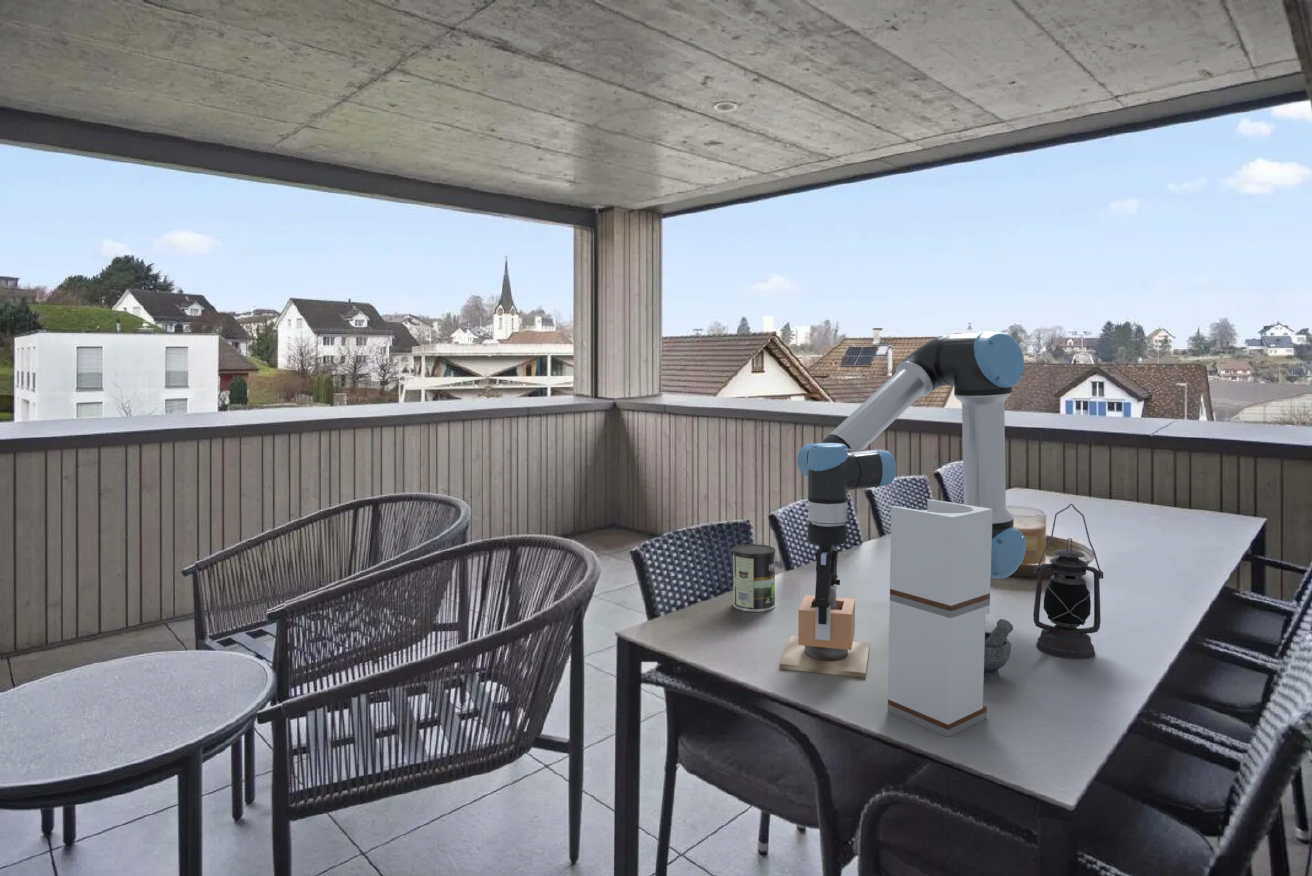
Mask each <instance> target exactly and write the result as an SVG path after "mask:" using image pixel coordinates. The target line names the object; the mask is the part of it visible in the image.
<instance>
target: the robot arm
mask: <svg viewBox="0 0 1312 876" xmlns="http://www.w3.org/2000/svg"><path fill="white" fill-rule="evenodd" d="M1024 368H1025V359H1024V354H1023V351H1022V348H1021V346H1020V345H1019V343H1018V342H1017V341H1016V340H1015V339H1014V337H1013V336H1011V335H1010V334H1008V333H1004V332H998V331H997V332H996V331H983V332H981V331H980V332H966V333H948V334H947V333H946V334H942V335H940V336H937V337H935V338H932V339H931V340H929V341H927V342H926V343H924V344H922V345H921V346H919V347H918V348H917V349H915V350H914V351H913V352H911V353H910V354H909V355H907V356H906V357H905V358H904V359H903V360H902V361H901V362H900V363H898V365H896V368H895V373H894V374H893V375H892V376H891V377H890V378H889V379H888V380H886V381H885V382H884V383H883V384H882V385H881V386H880V387H879V388H878V389H877V390H875V392H874V393H872V394H871V396H869V397H868V398H867V399H866V400H865V401H864V402H863V403H862V404H861V405H860V406H858V407H857V408H856V409H855V410H854V411H853V412H852V413H851V414H850V415H849V416H847V418H845V419H844V420H843V421H842V422H841V423H840V424H839V425H838V426H837V427H835V429H834V430H833V431H831V433H829V434H828V435H826V437H824V439H822V440H821V441H820V442H819V443H817V442H814V443H807V444H805V445H803V446H802V447H801V448H800V450H799V451H798V454H797V457H796V463H797V464H796V465H797V467H798V470H799V471H800V473H801V474H802V475H804V476H806V477H807V500H808V501H807V504H805V505H804V509H805V510H808V511H807V520H808V521H809V522H808V523H807V541H808V542H809V543H810V544H813V545H818V546H819V549H818V548H817V550H816V551H817V552H815V561H816V564H815V571H816V574H815V575H816V577H815V594H814V596H815V602H812V606H814V607H816V620H815V639H818V640H829V641H830V589H831V587H833V588H834V590H835V592H836V596H837V593H838V590H837V586H840V584H841V579H838V568H837V567H838V566H837V565H838V555H839V551H838V549H837V546H840V545H841V546H842V545H843V544H845V543H846V542H847V535H848V534H847V533H848V530H847V529H848V528H847V527H848V526H847V524H846V522H847V521H848V491H853V490H860V489H861V490H862V489H863V490H864V489H871V488H872V489H873V488H874V489H875V488H880V487H885V486H888V485H890V484H891V483H893V482H894V480H895V478H896V476H897V467H898V466H897V462H896V459H895V457H894V456H893V454H892V453H891V452H889V451H888V450H886V449H875V448H873V449H870V450H868V449H867V450H866V448H867V447H868V446H869V445H870V444H871V443H872V442H873V441H874V440H875V439H877V438H878V437H879V436H880V435H881V434H882V433H883V431H885V430H886V429H887V428H888V427H889V426H890V425H892V424H893V423H894V422H895V420H897V419H898V418H899V417H900V416H901V415H902V414H903V413H904V412H905V411H906V410H907V409H909V407H910V406H912V404H914V403H915V402H916V401H917V400H918V399H919V398H920V397H926V396H928V395H930V394H931V393H932V392H933V391H935V389H938V388H941V387H945V386H953V395H954V397H955V398H956V399H957V401H958V400H959V402H960V403H961V418H962V419H961V421H962V423H961V425H962V426H961V427H962V428H961V429H962V465H963V466H962V469H963V471H962V472H963V504H964V505H971V506H977V507H983V508H990V509H993V512H992V546H991V578H993V579H997V580H998V579H1005V578H1007V577H1011V576H1012V575H1013V574H1014V573H1015V572H1016V571H1017V570H1018V569H1019V567H1020V566H1021V565H1022V563H1023V561H1024V558H1025V555H1026V551H1027V540H1026V536H1025V535H1024V533H1023V532H1022V531H1021V530H1020V529H1018V527H1017V528H1016V527H1015V526H1014V521H1015V520H1014V515H1013V514H1012V513H1011V512H1010V511H1008V509H1007V502H1006V501H1007V499H1006V497H1007V496H1006V493H1007V492H1006V491H1007V490H1006V436H1005V431H1006V430H1005V429H1006V427H1005V426H1006V425H1005V423H1006V422H1005V402H1006V400H1008V398H1009V397H1010V396H1012V394H1013V391H1012V390H1013V386H1015V385H1017V384H1018V383H1019V382H1020V381H1021V379H1022V376H1021V375H1023V373H1024V370H1025V369H1024ZM921 511H927V509H924V510H922V509H921ZM819 599H825V600H819Z"/></svg>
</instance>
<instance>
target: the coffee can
mask: <svg viewBox="0 0 1312 876" xmlns="http://www.w3.org/2000/svg"><path fill="white" fill-rule="evenodd" d="M731 550H732V583H733V584H732V585H733V587H732V590H733V592H732V593H733V594H732V595H733V596H732V597H733V603H732V606H733V607H734V608H735V609H736V610H739V611H741V612H742V611H743V612H748V613H749V612H751V613H763V612H764V613H765V612H769V611H771V610H774V609H775V607H776V598H775V597H776V592H775V591H776V589H775V588H776V587H775V586H776V585H775V584H776V583H775V582H776V577H775V576H776V569H775V567H776V562H775V561H776V548H775V547H773V546H770V545H766V544H758V543H757V544H755V543H751V544H749V543H748V544H740V545H737V546H734V547H732V549H731Z"/></svg>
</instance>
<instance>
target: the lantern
mask: <svg viewBox="0 0 1312 876" xmlns="http://www.w3.org/2000/svg"><path fill="white" fill-rule="evenodd" d="M1071 506H1072V508H1073V509H1074V511H1076V512H1077V513H1078V514H1079V515H1081V517H1082V520H1083V524H1084V528H1085V532H1086V535H1087V539H1088V543H1089V546H1090V547H1091V550H1092V552H1093V556H1094V559H1095V563H1096V567H1097V568H1096V567H1094V566H1089V564H1088V562H1086V561H1085V560H1083V559H1080V558H1084V557H1085V556H1086V554H1085V553H1083V552H1081V551H1079V550H1075V549H1073V548H1072V547H1073V538H1071V537H1070V538H1067V540H1066V548H1061V549H1056V550H1054V551H1053V555H1056V556H1058V557H1054V558H1051V559H1050V560H1049V563H1042V561H1043V558H1044V555H1045V553H1046V550H1047V548H1048V546H1049V545H1050V542H1051V541H1052V539H1053V536H1054V531H1055V527H1056V520H1057V515H1059V514H1060V513H1062V512H1064V511H1065V510H1067V509H1069V508H1070V507H1071ZM1053 518H1054V519H1053V522H1052V523H1053V525H1052V530H1051V534H1050V538H1049V540H1048V541H1047V542H1046V545H1045V547H1044V549H1043V552H1042V554H1041V557H1040V559H1039V561H1038V564H1037V565H1034V568H1033V569H1034V571H1033V573H1034V574H1036V575H1037V577H1036V588H1035V595H1034V596H1035V598H1034V605H1033V616H1032V617H1033V622H1034V625H1035V627H1036V628H1039V629H1042V630H1041V631H1040V636H1038V638H1037V642H1036V643H1035V646H1036V648H1037V650H1038V649H1039V651H1041V652H1042V653H1045V654H1048V655H1050V656H1054V657H1058V658H1064V659H1071V660H1086V659H1090V658H1093V657H1094V656H1095V655H1096V651H1095V645H1093V643H1092V637H1091V636H1090V634H1094V633H1098V631H1099V630H1100V628H1101V594H1100V593H1101V591H1100V589H1101V588H1100V587H1101V586H1100V579H1101V580H1102V579H1104V572H1103V571H1102V570H1101V568H1100V564H1099V561H1098V558H1097V555H1096V551H1095V549H1094V547H1093V545H1092V542H1091V538H1090V535H1089V531H1088V526H1087V522H1086V518H1085V515H1084V514H1083V513H1082V512H1081V511H1080V510H1078V509H1077V508H1076V507H1075V505H1074V504H1072V503H1069V504H1068V506H1066V507H1065V508H1062V510H1059V511H1058V512H1056V513H1054V517H1053ZM1069 540H1070V548H1069ZM1046 569H1050V571H1051V572H1052V573H1054V574H1053V575H1051V576H1050V581H1049V583H1047V584H1046V588H1045V591H1044V597H1043V610H1044V612H1045V613H1046V616H1047V620H1049V621H1050V623H1052V624H1054V626H1053V625H1050V624H1046V623H1043V622H1041V621H1040V611H1041V600H1042V588H1043V578H1044V577H1043V575H1044V570H1046ZM1087 571H1088V572H1091V573H1092V574H1093V625H1092V626H1090V627H1082V628H1079V627H1080V626H1084V625H1085V624H1086V620H1087V619H1088V618H1089V617H1090V615H1091V607H1092V603H1091V590H1089V589H1088V587H1087V585H1086V582H1087V581H1086V579H1084V578H1083V576H1084V575H1086V574H1087Z"/></svg>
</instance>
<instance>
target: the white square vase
mask: <svg viewBox="0 0 1312 876" xmlns="http://www.w3.org/2000/svg"><path fill="white" fill-rule="evenodd" d="M890 508H891V509H890V555H889V556H890V560H889V561H890V564H889V565H890V566H889V567H890V569H889V570H890V571H889V620H888V625H889V626H888V627H889V629H888V630H889V631H888V676H887V677H888V680H887V681H888V683H887V684H888V686H887V687H888V688H887V689H888V691H887V692H888V693H887V712H889V713H892V714H894V715H896V716H898V717H900V718H903V719H906V720H908V721H910V722H913V723H914V724H917V725H919V726H922V727H924V728H925V729H928V728H929V729H928V730H930V729H931V731H932V730H933V732H935V733H937V734H939V735H942V736H944V737H947V738H949V737H951V736H953V735H956V734H957V733H959V732H961V731H964V730H965V729H968V728H969V727H972V726H975V724H978V723H980V722H982V721H984V720H986V719H987V714H988V713H987V710H988V707H987V706H986V705H984V682H983V681H984V647H985V632H986V615H990V611H991V610H990V609H991V608H990V607H991V581H992V580H991V578H992V577H991V546H992V512H993V509H990V508H983V507H977V506H971V505H964V503H957V502H951V501H944V500H938V499H932V498H930V499H927V506H926V508H927V509H926V510H927V511H921V510H922V509H921V510H920V509H915V508H909V507H902V506H897V505H892V506H891V507H890Z"/></svg>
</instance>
